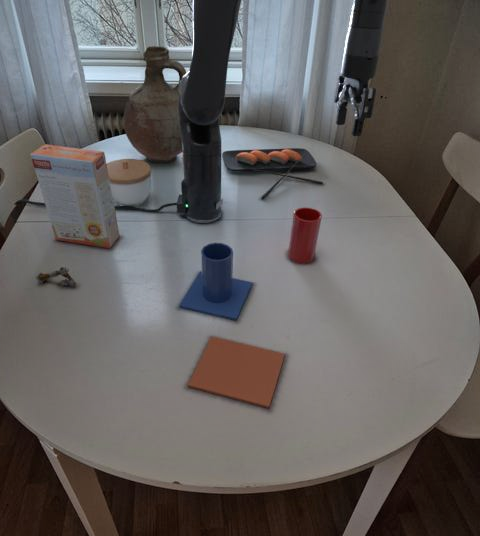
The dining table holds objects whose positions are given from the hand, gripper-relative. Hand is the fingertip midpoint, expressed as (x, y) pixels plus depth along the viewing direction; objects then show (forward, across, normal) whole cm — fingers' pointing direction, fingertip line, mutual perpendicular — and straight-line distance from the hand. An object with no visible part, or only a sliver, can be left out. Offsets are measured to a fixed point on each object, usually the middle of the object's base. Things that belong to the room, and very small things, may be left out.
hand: (347, 129), depth 103 cm
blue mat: (+22, +28, -39) cm, 53 cm away
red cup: (+22, +18, -17) cm, 33 cm away
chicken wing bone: (+22, +16, -71) cm, 76 cm away
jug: (+19, -44, -40) cm, 63 cm away
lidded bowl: (+20, -16, -53) cm, 59 cm away
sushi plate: (+20, -24, -9) cm, 33 cm away
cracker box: (+21, 0, -64) cm, 68 cm away
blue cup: (+22, +28, -39) cm, 53 cm away
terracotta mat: (+23, +48, -40) cm, 67 cm away
